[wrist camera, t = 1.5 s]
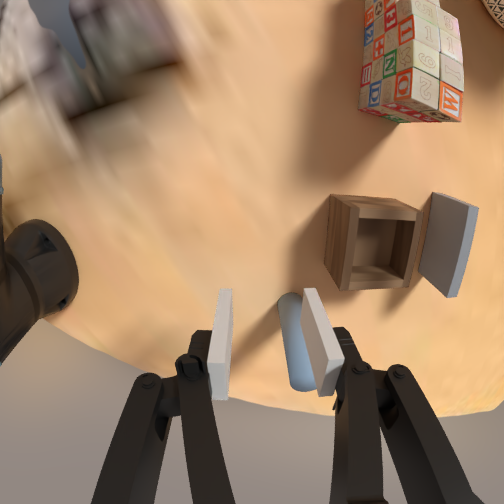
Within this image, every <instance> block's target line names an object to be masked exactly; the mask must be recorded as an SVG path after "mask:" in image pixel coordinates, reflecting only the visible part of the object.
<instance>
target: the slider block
mask: <svg viewBox="0 0 504 504" xmlns="http://www.w3.org/2000/svg"><path fill="white" fill-rule="evenodd" d="M423 214H424V212H422V211H420V210H418V209H416V208H413V207H411V206H409V205H407V204H405V203H403V202H400V201H398V200H396V199H391V198H379V197H366V196H351V195H333V194H330V208H329V220H328V231H327V242H326V251H325V260H324V264H325V266H326V268H327V270H328V271H329V273H330V275H331V276H332V278H333V280H334V281H335V283H336V285H337V287H338V288H339V290H340V291H343V290H366V289H385V288H401V287H408V286H409V282H410V279H411V275H412V270H413V266H414V262H415V257H416V253H417V248H418V243H419V238H420V232H421V227H422V221H423Z"/></svg>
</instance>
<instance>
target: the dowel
mask: <svg viewBox="0 0 504 504" xmlns="http://www.w3.org/2000/svg"><path fill="white" fill-rule="evenodd" d="M302 301H303V299H302V297H301V296H300V295H299V294H296V293H287V294H285V295H283V296H282V297H281V298H280V299H279V300H278V304H277V306H278V312H279V318H280V324H281V330H282V336H283V342H284V348H285V354H286V360H287V367H288V373H289V379H290V385H291V387H292V388H293V389H295V390H297V391H301V392H307V391H312V390H315V389H317V387H316V383H315V379H314V375H313V371H312V367H311V363H310V359H309V355H308V352H307V348H306V344H305V340H304V336H303V332H302V329H301V325H300V318H301V310H302Z"/></svg>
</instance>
